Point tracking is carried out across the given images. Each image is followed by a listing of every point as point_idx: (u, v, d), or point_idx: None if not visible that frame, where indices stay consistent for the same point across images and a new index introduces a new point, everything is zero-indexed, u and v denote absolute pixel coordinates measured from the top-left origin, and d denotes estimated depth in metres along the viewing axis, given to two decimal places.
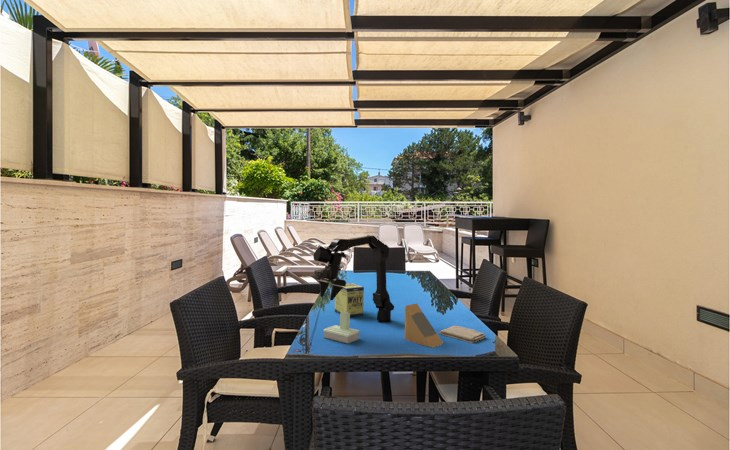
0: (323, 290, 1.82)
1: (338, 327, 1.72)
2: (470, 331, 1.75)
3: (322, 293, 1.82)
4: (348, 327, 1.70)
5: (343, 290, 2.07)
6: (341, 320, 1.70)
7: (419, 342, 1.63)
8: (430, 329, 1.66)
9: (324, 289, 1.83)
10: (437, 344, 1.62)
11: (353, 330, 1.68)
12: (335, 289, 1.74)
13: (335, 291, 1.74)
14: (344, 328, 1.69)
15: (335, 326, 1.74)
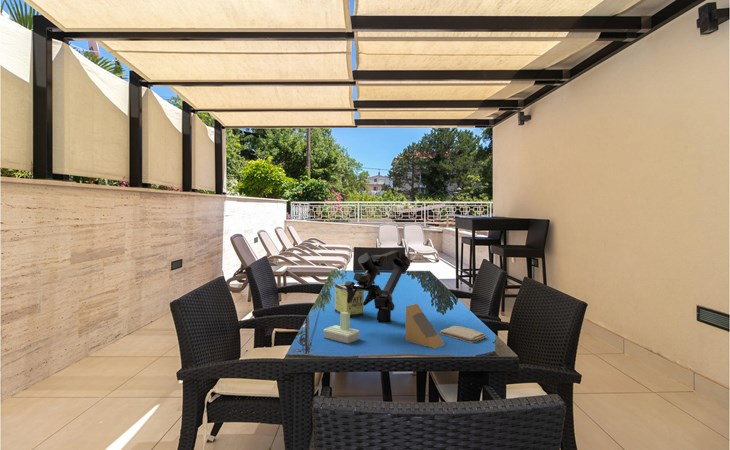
0: (350, 297, 1.82)
1: (338, 327, 1.72)
2: (470, 331, 1.75)
3: (349, 299, 1.81)
4: (348, 327, 1.70)
5: (343, 290, 2.07)
6: (341, 320, 1.70)
7: (420, 343, 1.63)
8: (431, 329, 1.66)
9: (351, 297, 1.82)
10: (438, 344, 1.61)
11: (353, 330, 1.68)
12: (370, 296, 1.77)
13: (370, 298, 1.76)
14: (344, 328, 1.69)
15: (335, 326, 1.74)
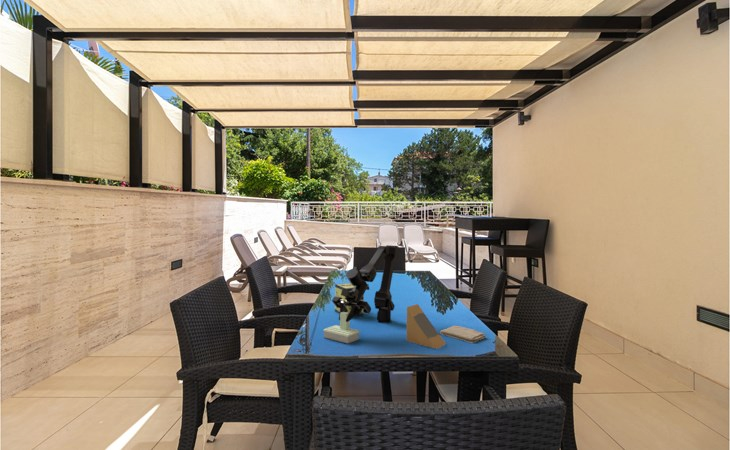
0: None
1: (338, 327, 1.72)
2: (470, 331, 1.75)
3: None
4: (348, 327, 1.70)
5: None
6: (341, 320, 1.70)
7: (422, 343, 1.62)
8: (432, 330, 1.65)
9: None
10: (440, 345, 1.60)
11: (353, 330, 1.68)
12: (353, 312, 1.71)
13: (353, 314, 1.70)
14: (344, 328, 1.69)
15: (335, 326, 1.74)
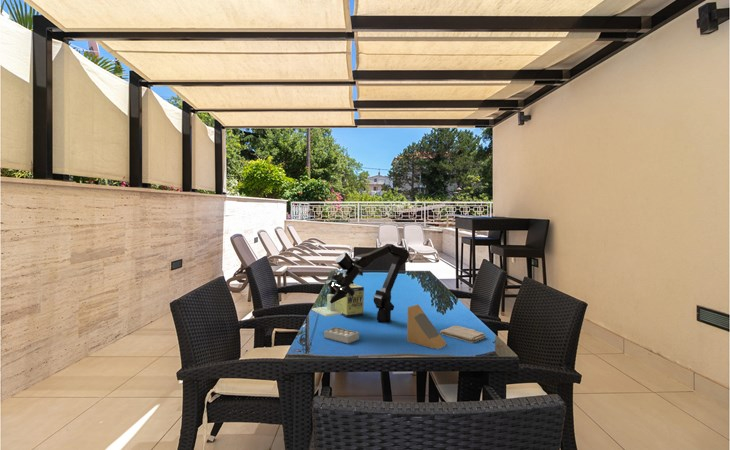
0: None
1: (327, 308, 1.83)
2: (470, 331, 1.75)
3: None
4: (333, 308, 1.79)
5: None
6: (327, 301, 1.80)
7: (423, 344, 1.61)
8: (433, 330, 1.65)
9: None
10: (441, 345, 1.60)
11: (336, 311, 1.77)
12: (338, 294, 1.79)
13: (338, 296, 1.79)
14: (329, 309, 1.79)
15: (325, 307, 1.85)
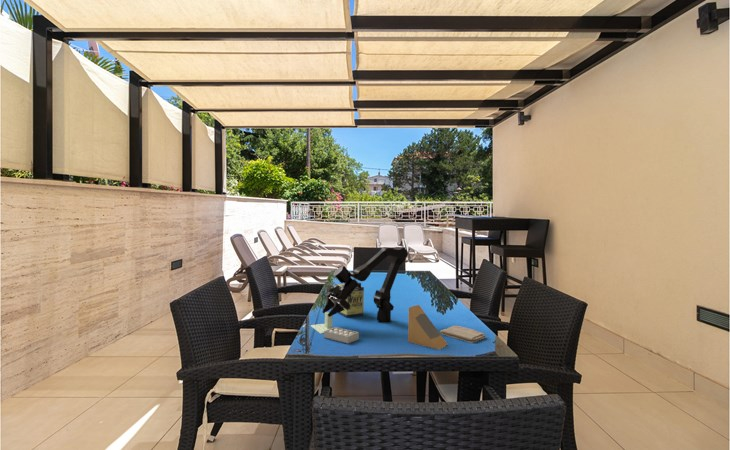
0: (327, 308, 1.87)
1: (325, 325, 1.87)
2: (470, 331, 1.75)
3: (325, 310, 1.87)
4: (330, 326, 1.83)
5: None
6: (325, 319, 1.84)
7: (424, 344, 1.61)
8: (434, 330, 1.64)
9: (328, 308, 1.88)
10: (442, 345, 1.60)
11: None
12: (336, 308, 1.81)
13: (336, 310, 1.81)
14: (326, 327, 1.83)
15: (324, 324, 1.89)
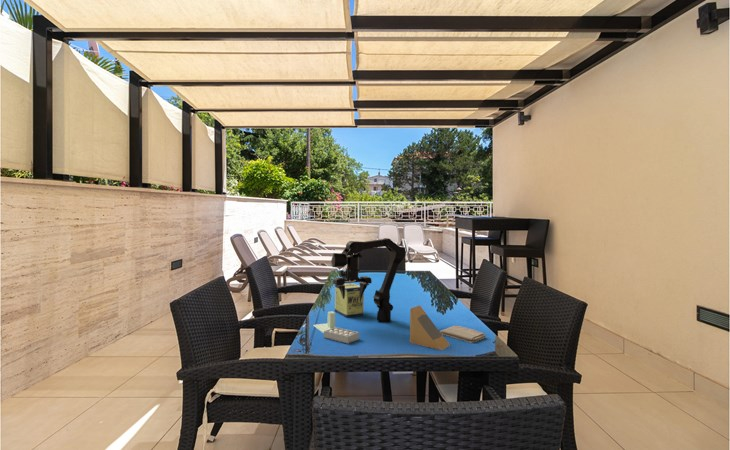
0: (360, 291, 1.93)
1: None
2: (470, 331, 1.75)
3: (360, 294, 1.93)
4: (333, 326, 1.83)
5: None
6: (328, 319, 1.85)
7: (426, 345, 1.60)
8: (436, 331, 1.63)
9: (361, 290, 1.93)
10: (445, 346, 1.59)
11: None
12: (341, 288, 1.89)
13: (341, 290, 1.88)
14: (329, 326, 1.83)
15: (327, 324, 1.89)
